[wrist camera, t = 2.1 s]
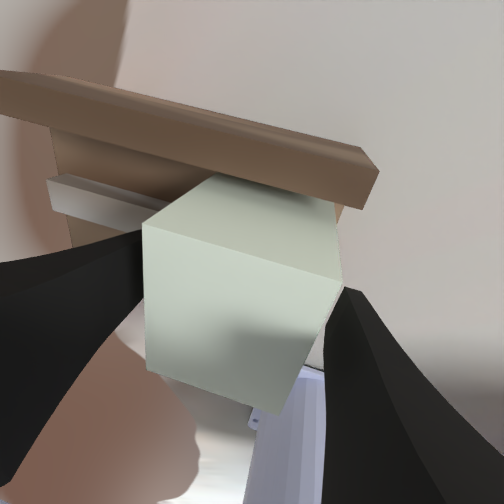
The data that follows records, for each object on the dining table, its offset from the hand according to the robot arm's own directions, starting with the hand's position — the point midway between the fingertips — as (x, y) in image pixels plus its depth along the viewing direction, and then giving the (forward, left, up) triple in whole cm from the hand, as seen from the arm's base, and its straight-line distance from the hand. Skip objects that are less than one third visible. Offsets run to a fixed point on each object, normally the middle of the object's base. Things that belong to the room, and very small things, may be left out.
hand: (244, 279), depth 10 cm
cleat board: (0, +4, -5) cm, 6 cm away
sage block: (0, 0, -3) cm, 3 cm away
